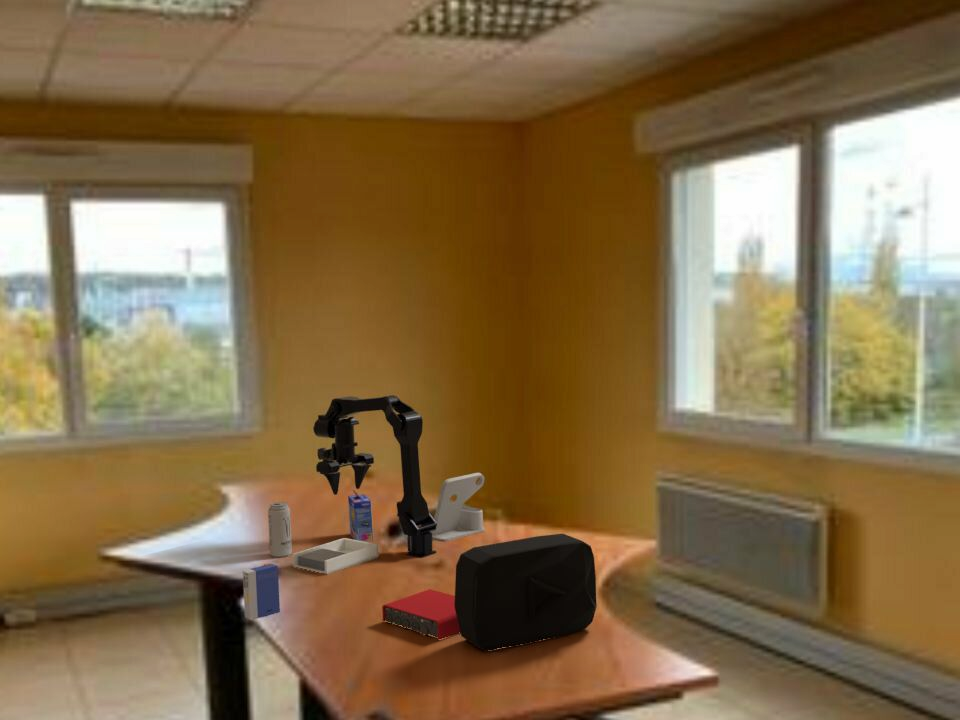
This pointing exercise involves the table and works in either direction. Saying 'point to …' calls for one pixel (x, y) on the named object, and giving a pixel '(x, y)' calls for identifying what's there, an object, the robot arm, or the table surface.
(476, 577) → the black hard case
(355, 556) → the tray
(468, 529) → the phone holder
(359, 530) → the ink cartridge box
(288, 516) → the energy drink can
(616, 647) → the table surface
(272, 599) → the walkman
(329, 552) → the cover plate
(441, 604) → the red device housing
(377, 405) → the robot arm
